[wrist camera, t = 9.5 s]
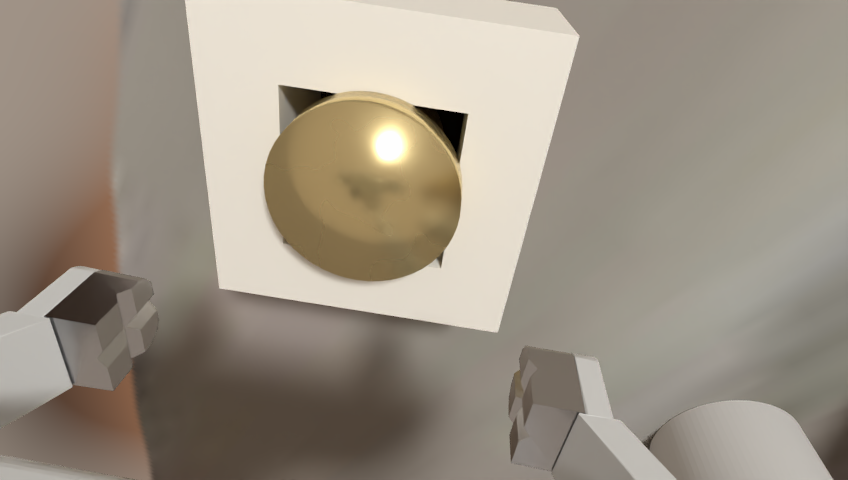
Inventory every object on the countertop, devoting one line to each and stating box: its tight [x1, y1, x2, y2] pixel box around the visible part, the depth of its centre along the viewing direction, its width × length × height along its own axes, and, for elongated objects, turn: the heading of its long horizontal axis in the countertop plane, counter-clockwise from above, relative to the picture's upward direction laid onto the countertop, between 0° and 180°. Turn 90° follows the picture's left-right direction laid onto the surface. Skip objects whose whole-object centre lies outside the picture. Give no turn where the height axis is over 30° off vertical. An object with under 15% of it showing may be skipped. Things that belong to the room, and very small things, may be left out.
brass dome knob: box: [264, 91, 462, 281], centre depth 18 cm, size 6×6×6 cm
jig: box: [185, 0, 579, 333], centre depth 19 cm, size 11×11×5 cm
